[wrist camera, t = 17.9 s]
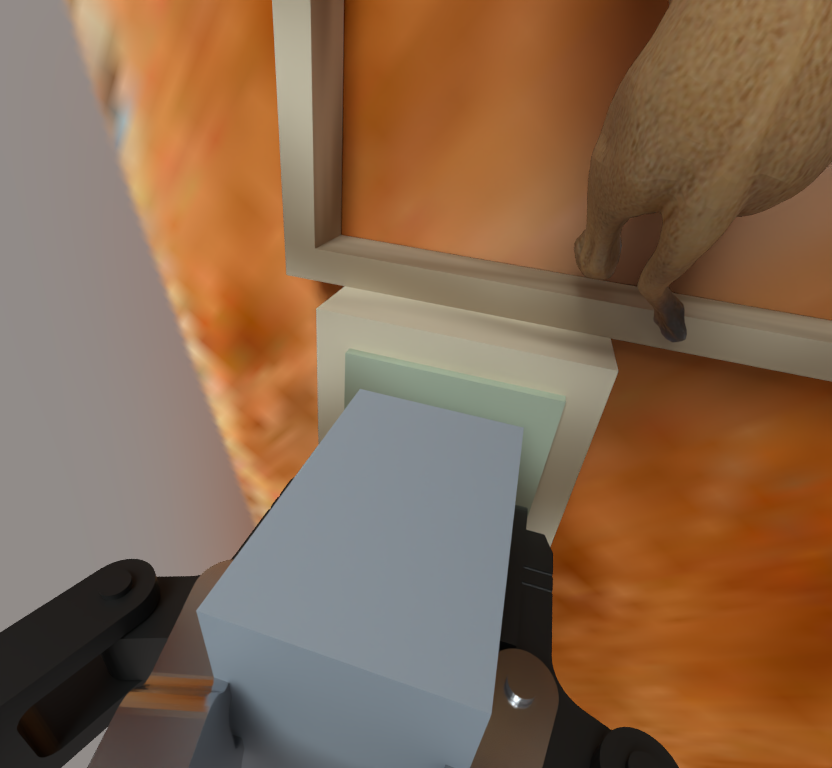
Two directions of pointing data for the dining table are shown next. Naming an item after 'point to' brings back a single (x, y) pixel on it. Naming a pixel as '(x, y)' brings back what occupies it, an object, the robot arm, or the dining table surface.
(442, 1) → the dining table surface
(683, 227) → the lion figurine
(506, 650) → the robot arm
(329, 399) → the grey rectangular frame
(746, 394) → the dining table surface
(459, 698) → the fin block
